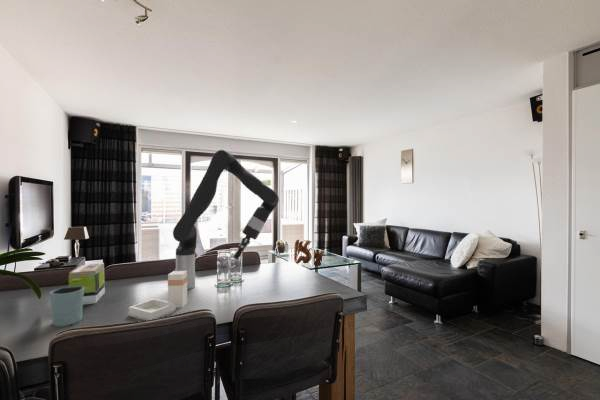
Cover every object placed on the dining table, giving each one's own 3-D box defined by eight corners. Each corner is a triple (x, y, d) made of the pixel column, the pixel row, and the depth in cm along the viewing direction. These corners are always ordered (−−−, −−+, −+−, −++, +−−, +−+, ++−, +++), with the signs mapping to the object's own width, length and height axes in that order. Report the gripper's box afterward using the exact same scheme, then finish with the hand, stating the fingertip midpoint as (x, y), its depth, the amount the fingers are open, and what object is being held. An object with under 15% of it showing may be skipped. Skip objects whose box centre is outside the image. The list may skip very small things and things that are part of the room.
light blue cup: (60, 329, 103) (60, 295, 103) (43, 324, 107) (43, 291, 107) (90, 318, 113) (90, 287, 113) (73, 314, 117) (73, 284, 116)
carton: (167, 307, 124) (167, 274, 124) (173, 302, 130) (173, 270, 130) (182, 307, 124) (182, 274, 124) (187, 302, 130) (187, 270, 130)
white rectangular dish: (128, 315, 115) (128, 307, 115) (153, 306, 125) (153, 298, 125) (150, 322, 109) (150, 312, 109) (175, 311, 119) (175, 303, 119)
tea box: (80, 295, 139) (80, 264, 139) (105, 293, 143) (105, 262, 142) (68, 306, 125) (68, 272, 125) (96, 303, 128) (96, 269, 128)
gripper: (247, 224, 149) (230, 252, 146) (246, 223, 135) (227, 254, 132) (260, 231, 149) (244, 259, 147) (260, 231, 135) (242, 263, 133)
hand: (236, 257), depth 140 cm, fingers open, 8 cm apart
